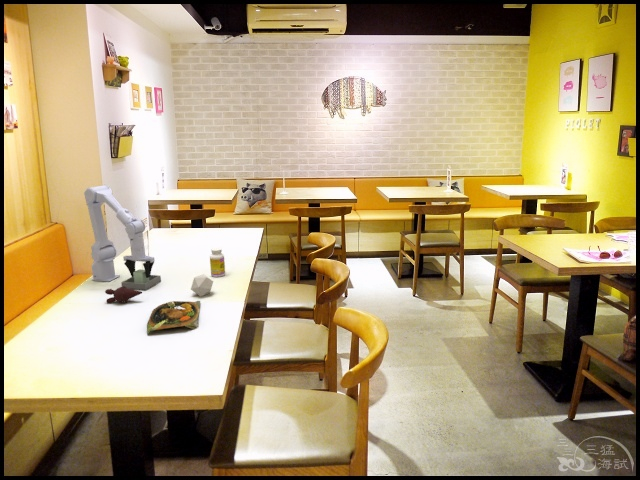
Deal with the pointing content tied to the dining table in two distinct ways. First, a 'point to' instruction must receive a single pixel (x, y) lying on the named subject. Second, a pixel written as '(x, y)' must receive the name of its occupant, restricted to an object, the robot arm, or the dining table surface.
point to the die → (202, 285)
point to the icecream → (121, 294)
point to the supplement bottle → (217, 263)
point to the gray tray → (141, 286)
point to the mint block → (140, 276)
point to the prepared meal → (174, 315)
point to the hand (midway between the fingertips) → (140, 276)
